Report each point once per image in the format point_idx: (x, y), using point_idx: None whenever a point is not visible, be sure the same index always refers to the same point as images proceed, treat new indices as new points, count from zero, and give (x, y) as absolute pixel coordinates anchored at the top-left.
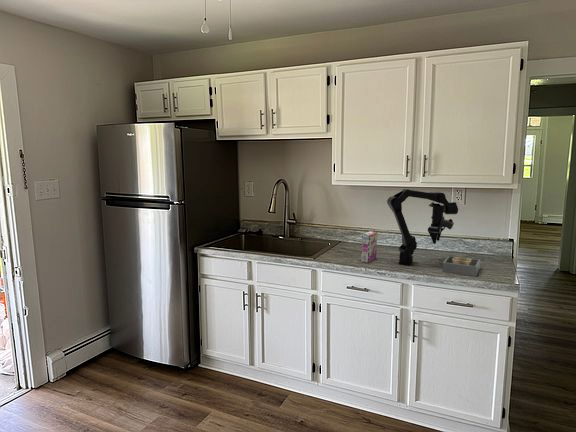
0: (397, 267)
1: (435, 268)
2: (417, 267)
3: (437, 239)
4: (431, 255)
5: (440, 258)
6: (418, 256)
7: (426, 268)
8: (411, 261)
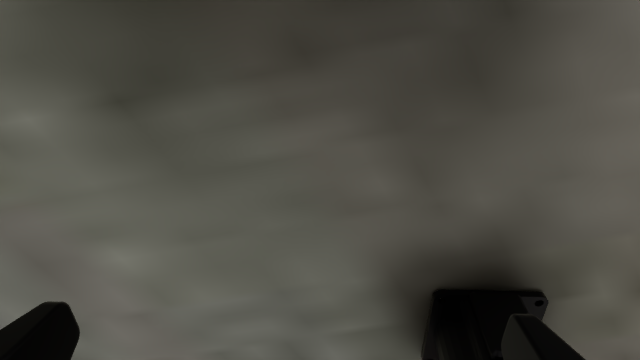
0: (626, 348)
1: (584, 58)
2: (586, 228)
3: (62, 350)
4: (19, 204)
5: (65, 96)
6: (157, 289)
7: (608, 148)
8: (527, 312)
